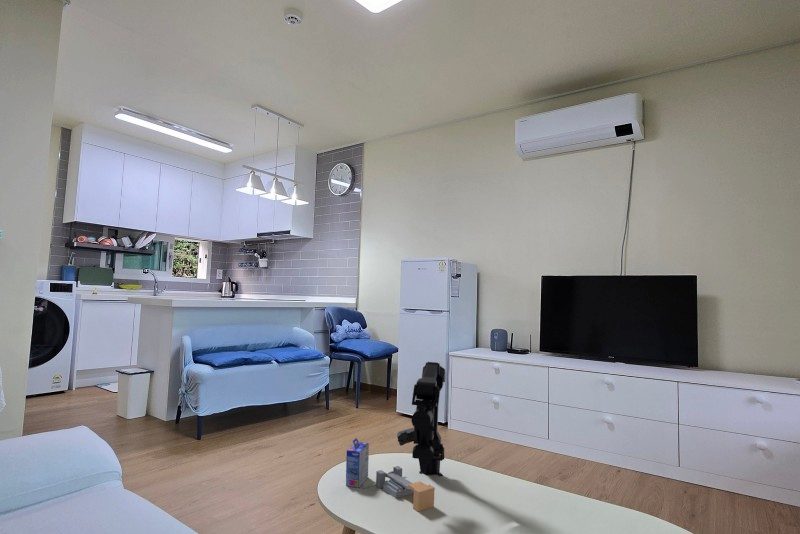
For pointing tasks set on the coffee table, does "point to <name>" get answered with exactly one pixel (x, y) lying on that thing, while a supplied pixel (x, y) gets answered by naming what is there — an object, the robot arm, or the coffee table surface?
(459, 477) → the coffee table surface
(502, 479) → the coffee table surface
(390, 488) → the board
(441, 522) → the coffee table surface
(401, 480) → the strap
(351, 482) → the ink cartridge box
